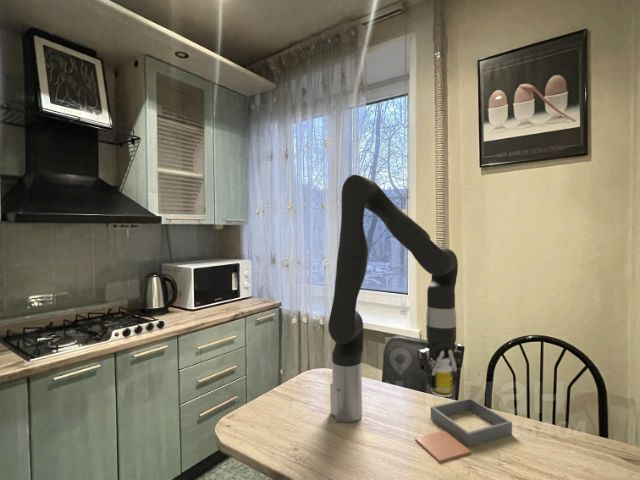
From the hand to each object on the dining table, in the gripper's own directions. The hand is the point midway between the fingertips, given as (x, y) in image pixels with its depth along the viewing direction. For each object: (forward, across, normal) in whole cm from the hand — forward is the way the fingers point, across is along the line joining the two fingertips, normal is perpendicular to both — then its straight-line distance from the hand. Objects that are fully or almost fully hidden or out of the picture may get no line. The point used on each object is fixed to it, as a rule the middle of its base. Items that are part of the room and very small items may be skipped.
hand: (441, 385), depth 92 cm
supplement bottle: (+2, 0, 0) cm, 2 cm away
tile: (+17, 0, 0) cm, 17 cm away
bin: (+17, -14, -5) cm, 22 cm away
